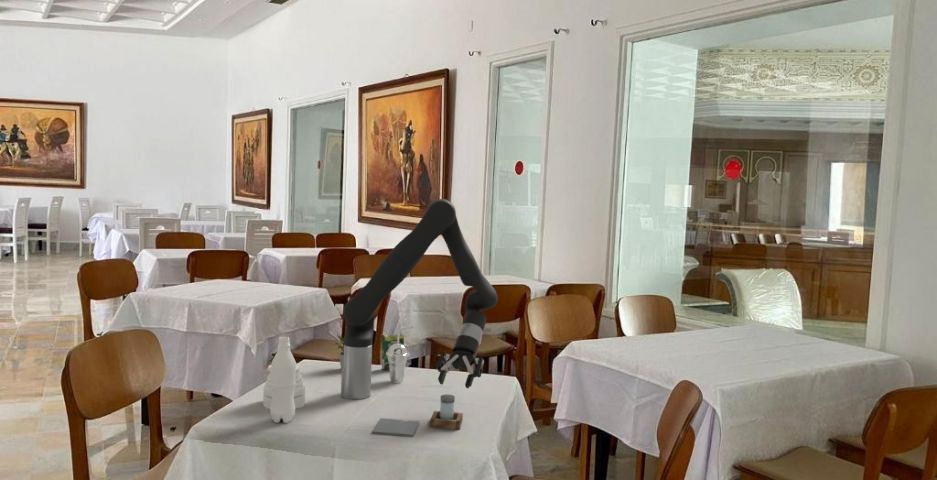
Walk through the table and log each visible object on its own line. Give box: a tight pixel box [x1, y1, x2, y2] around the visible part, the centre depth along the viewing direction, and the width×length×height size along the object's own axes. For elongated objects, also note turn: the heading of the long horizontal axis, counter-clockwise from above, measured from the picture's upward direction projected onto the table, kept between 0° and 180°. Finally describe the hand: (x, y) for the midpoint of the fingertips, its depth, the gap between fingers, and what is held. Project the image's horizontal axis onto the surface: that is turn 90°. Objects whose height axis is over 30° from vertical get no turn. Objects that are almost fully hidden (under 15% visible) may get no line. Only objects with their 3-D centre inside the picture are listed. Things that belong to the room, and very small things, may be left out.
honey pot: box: [262, 345, 306, 410], centre depth 244 cm, size 13×13×18 cm
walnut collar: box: [429, 410, 464, 431], centre depth 232 cm, size 9×9×2 cm
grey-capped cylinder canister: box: [439, 393, 456, 420], centre depth 232 cm, size 4×4×8 cm
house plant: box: [330, 329, 346, 371], centre depth 289 cm, size 14×14×16 cm
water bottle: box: [269, 336, 297, 424], centre depth 227 cm, size 7×7×25 cm
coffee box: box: [381, 333, 405, 371], centre depth 291 cm, size 8×3×13 cm, turn 114°
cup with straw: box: [386, 325, 414, 384], centre depth 275 cm, size 8×9×20 cm
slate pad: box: [371, 417, 421, 437], centre depth 226 cm, size 12×12×1 cm
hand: (453, 385), depth 235 cm, fingers open, 8 cm apart
